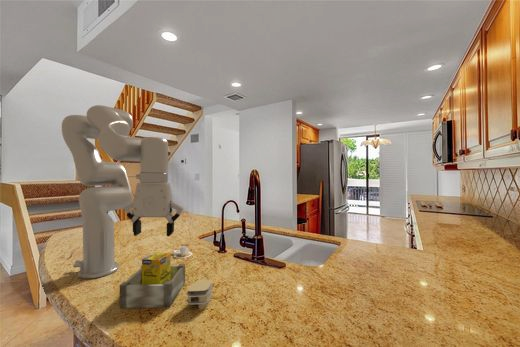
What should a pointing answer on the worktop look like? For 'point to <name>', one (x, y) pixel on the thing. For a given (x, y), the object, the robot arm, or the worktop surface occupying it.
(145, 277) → the supplement box
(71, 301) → the worktop surface
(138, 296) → the crate
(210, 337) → the worktop surface
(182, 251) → the teacup and saucer
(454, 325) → the worktop surface
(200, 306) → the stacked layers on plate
